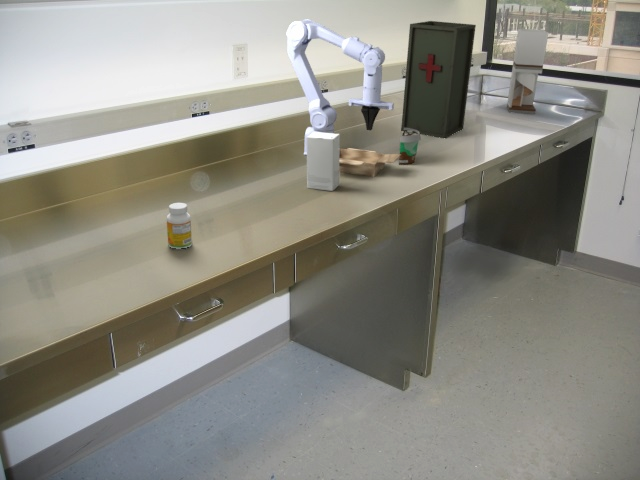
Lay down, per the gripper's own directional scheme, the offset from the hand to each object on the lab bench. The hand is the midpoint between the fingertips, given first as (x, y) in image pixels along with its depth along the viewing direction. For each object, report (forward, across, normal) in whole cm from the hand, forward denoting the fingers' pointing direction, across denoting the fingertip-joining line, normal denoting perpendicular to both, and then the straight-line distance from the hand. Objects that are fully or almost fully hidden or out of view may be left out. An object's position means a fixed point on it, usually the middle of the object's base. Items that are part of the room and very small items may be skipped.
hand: (369, 129), depth 213 cm
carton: (+10, -1, -8) cm, 13 cm away
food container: (+11, +13, +5) cm, 18 cm away
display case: (+11, +40, +108) cm, 116 cm away
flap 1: (+6, -1, -16) cm, 17 cm away
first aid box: (+11, +11, +52) cm, 54 cm away
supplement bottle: (+11, -19, -85) cm, 88 cm away
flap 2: (+6, +7, -10) cm, 14 cm away
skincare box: (+11, -4, -32) cm, 34 cm away
